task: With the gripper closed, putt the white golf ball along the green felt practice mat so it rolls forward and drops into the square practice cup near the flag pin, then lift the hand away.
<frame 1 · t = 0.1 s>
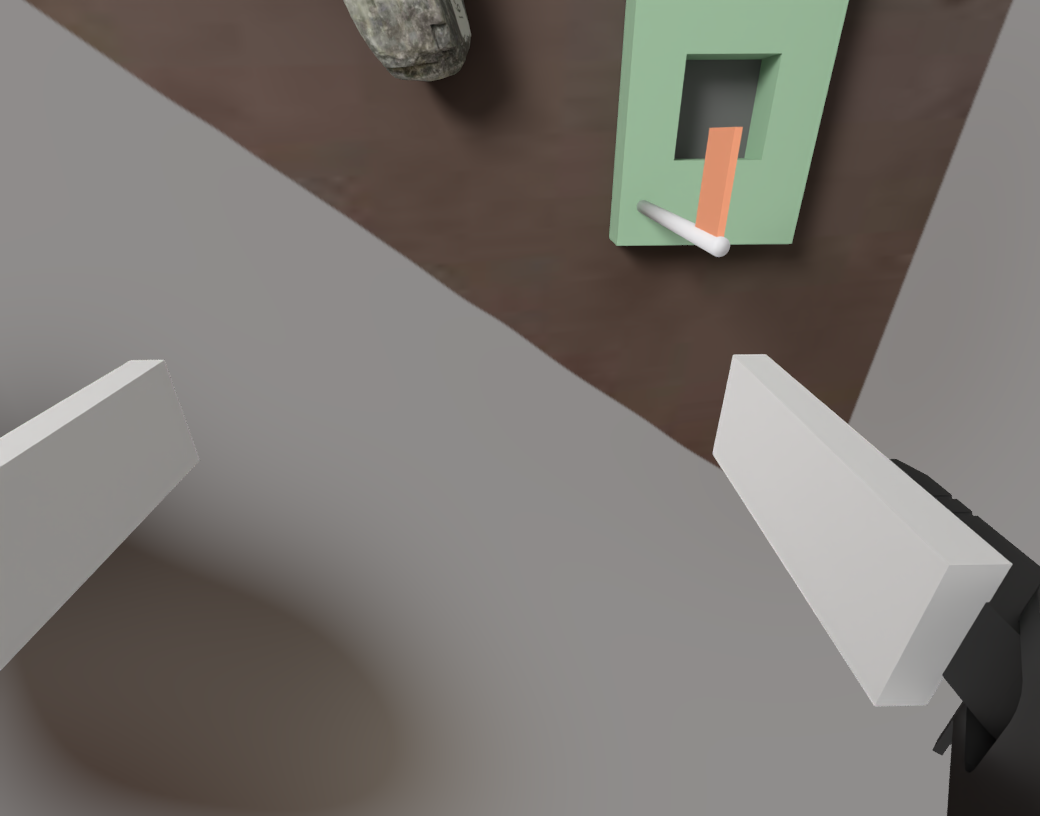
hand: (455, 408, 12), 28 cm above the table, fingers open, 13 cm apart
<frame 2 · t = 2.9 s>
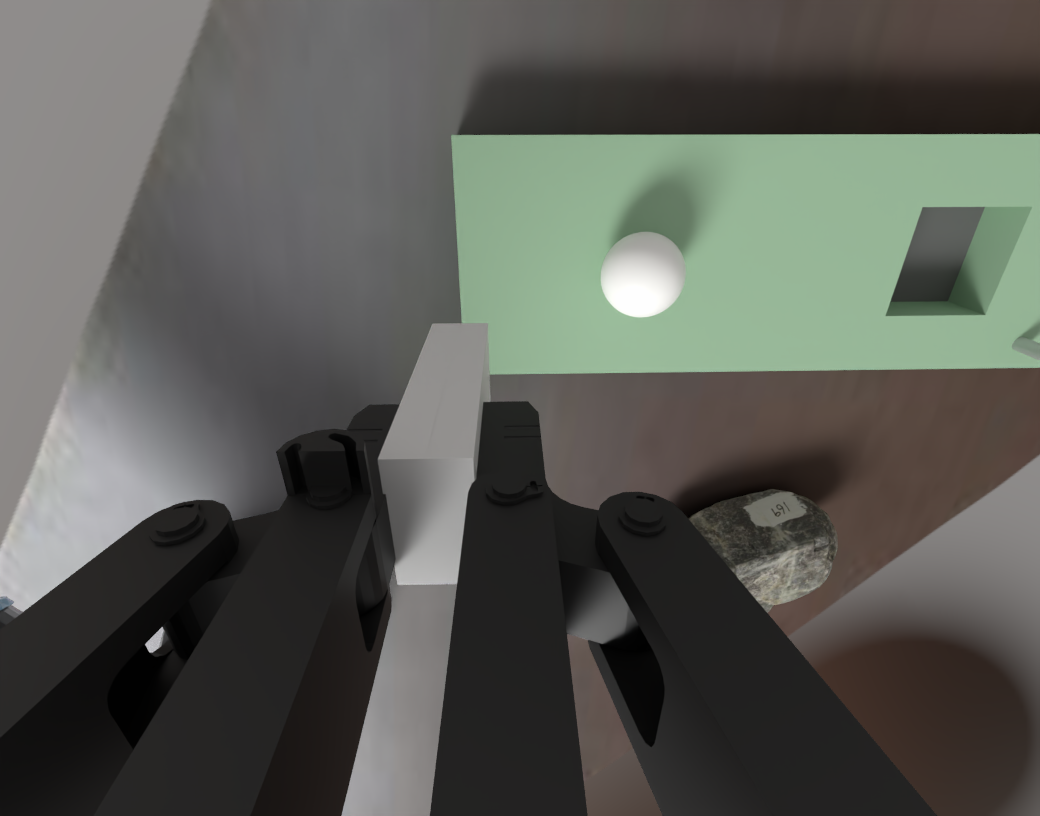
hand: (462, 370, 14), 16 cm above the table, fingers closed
green: (760, 253, 29), on the table
ball: (642, 275, 25), point 5 cm above the table, touching green
stone: (711, 526, 39), on the table
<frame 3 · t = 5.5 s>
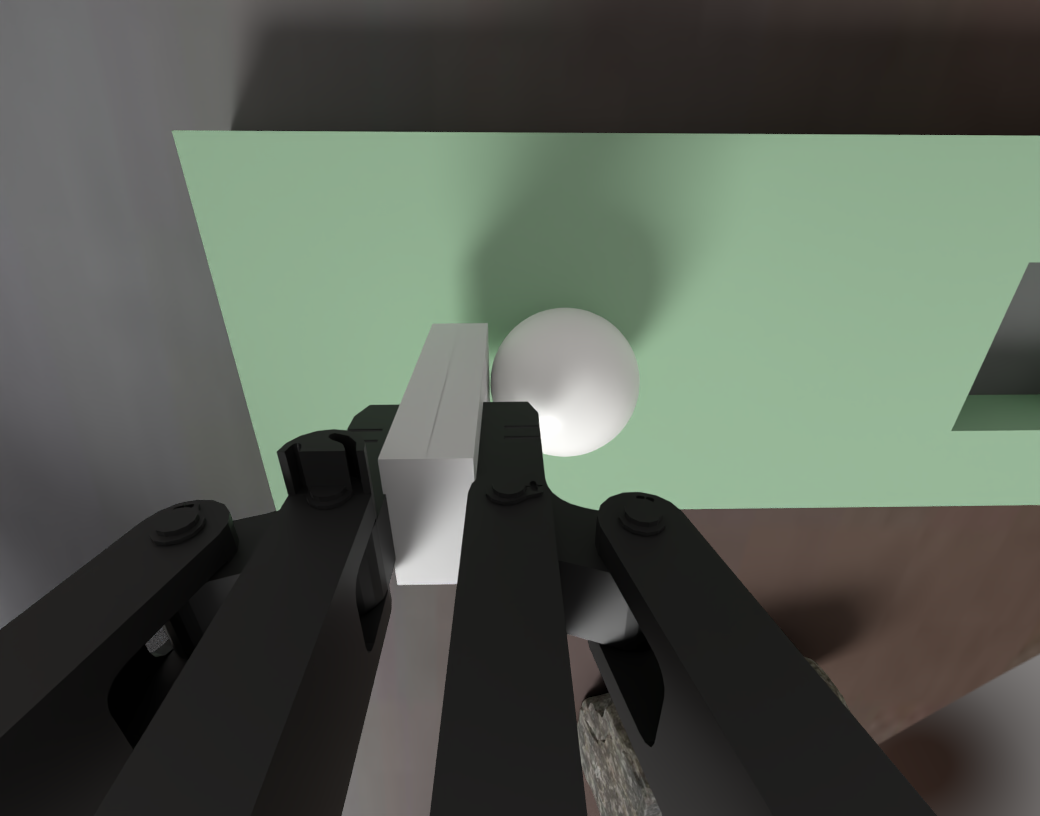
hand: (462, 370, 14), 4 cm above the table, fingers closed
green: (750, 323, 18), on the table
ball: (564, 382, 14), point 5 cm above the table, tilted 19°, touching green
stone: (679, 680, 29), on the table
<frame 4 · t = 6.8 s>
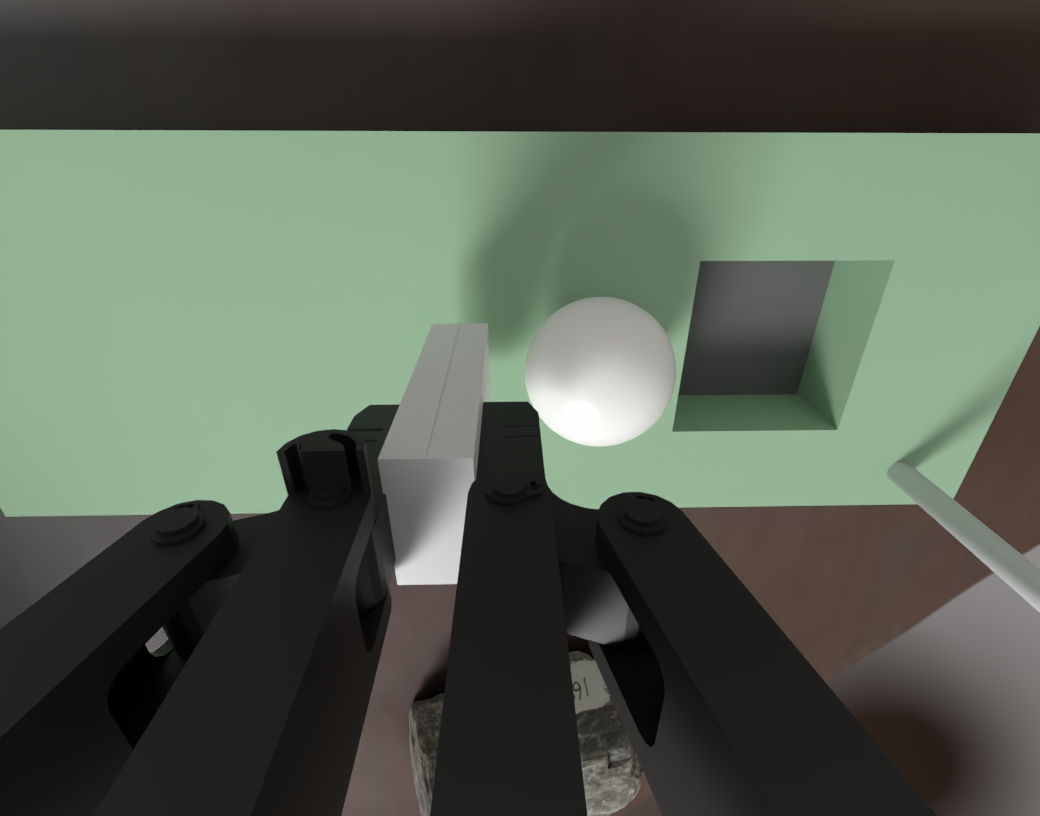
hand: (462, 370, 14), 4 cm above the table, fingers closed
green: (486, 323, 18), on the table
ball: (598, 372, 14), point 5 cm above the table, tilted 42°, touching green
stone: (509, 685, 28), on the table
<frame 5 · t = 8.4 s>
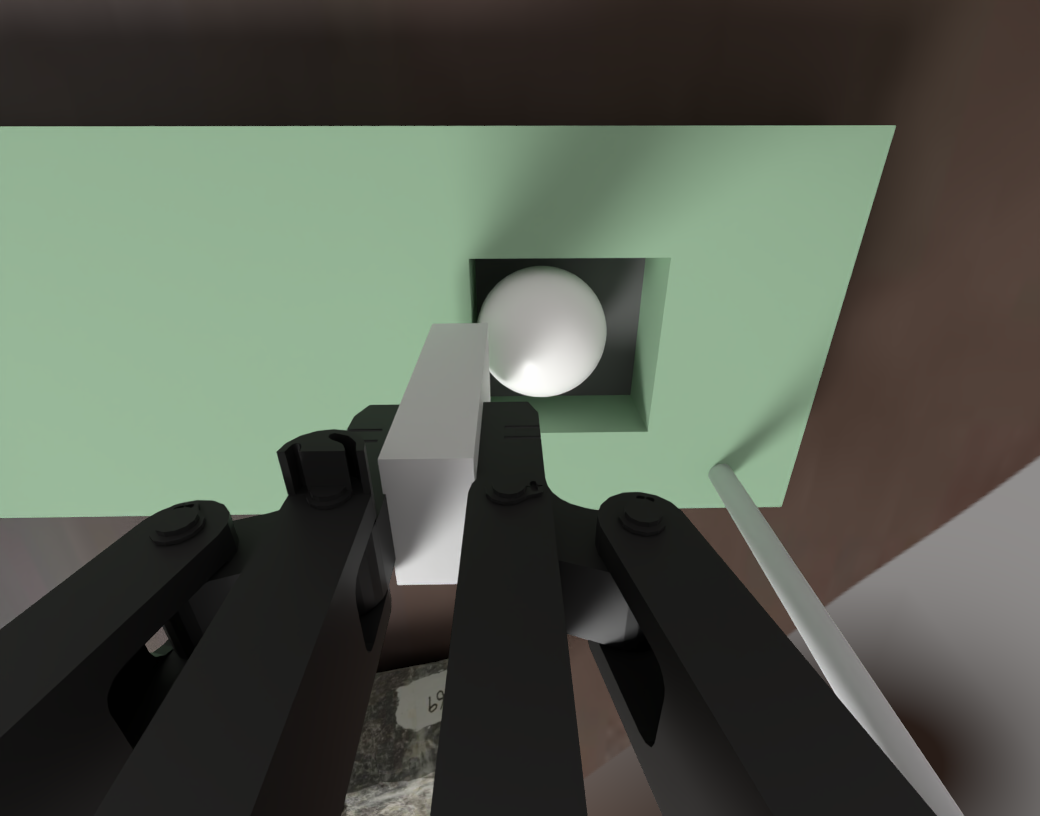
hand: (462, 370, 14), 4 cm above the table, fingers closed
green: (301, 323, 18), on the table
ball: (541, 332, 16), point 2 cm above the table, tilted 132°, touching green
stone: (391, 691, 28), on the table
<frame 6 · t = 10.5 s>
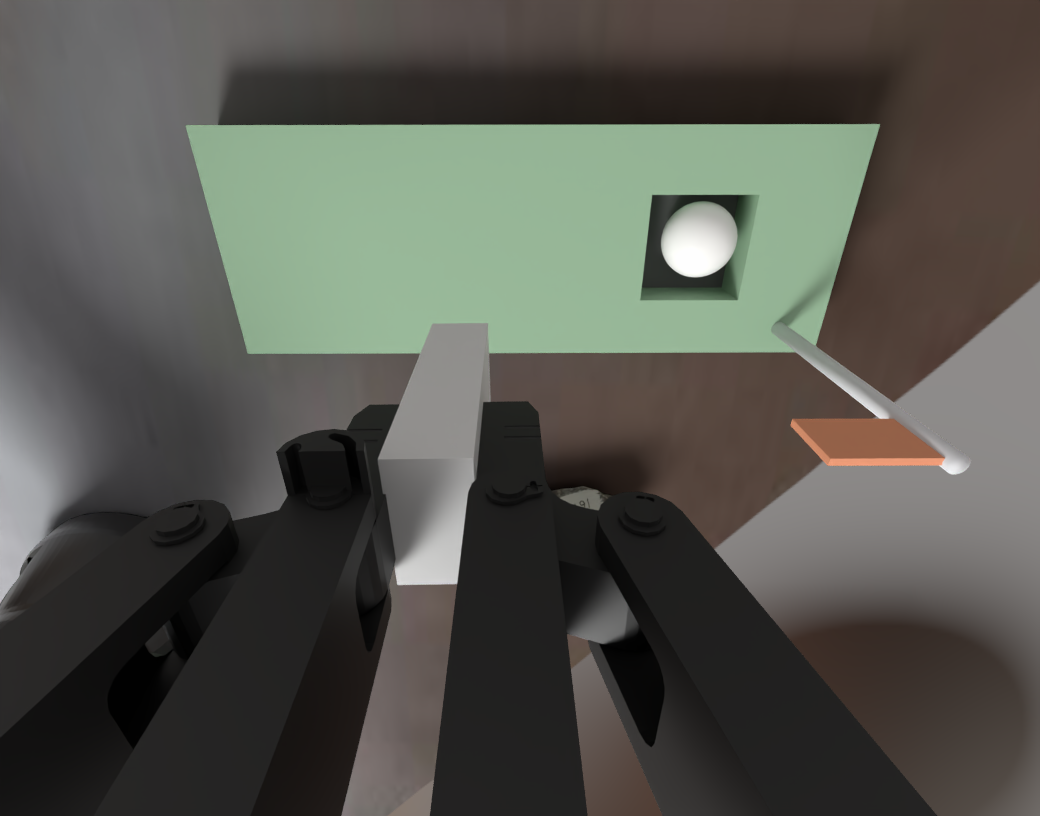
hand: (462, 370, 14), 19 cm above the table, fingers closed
green: (531, 240, 31), on the table
ball: (698, 240, 28), point 2 cm above the table, tilted 158°, touching green
stone: (533, 518, 41), on the table
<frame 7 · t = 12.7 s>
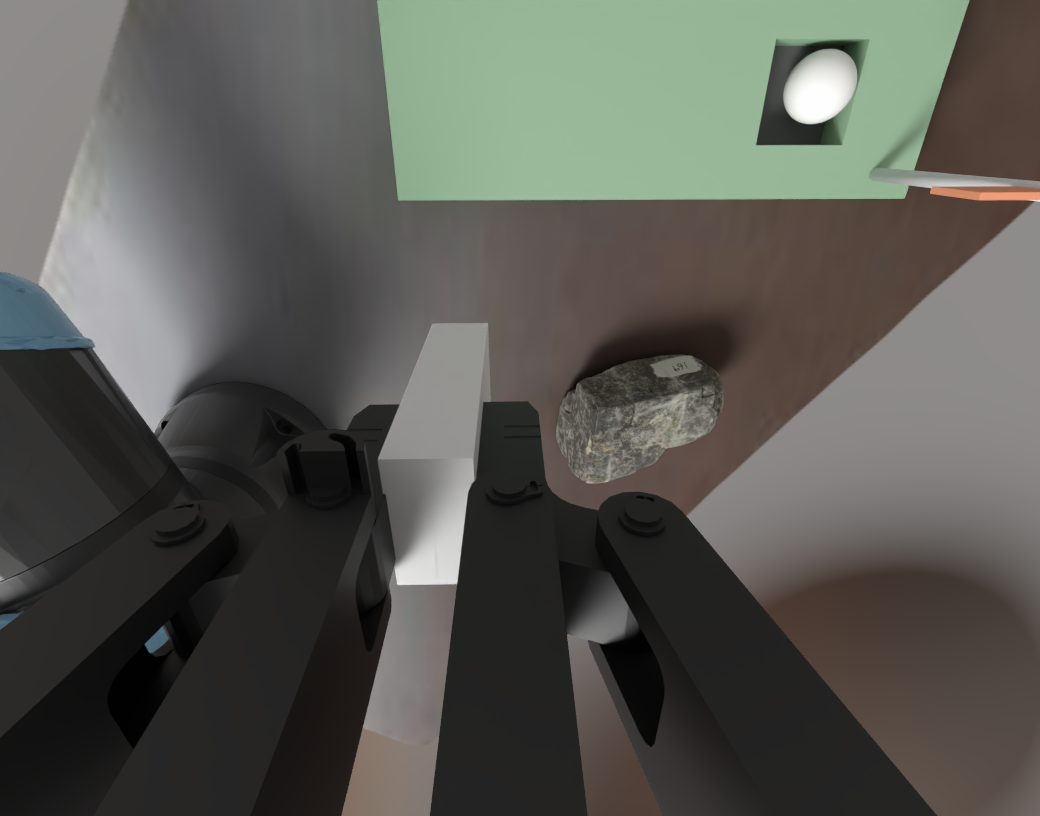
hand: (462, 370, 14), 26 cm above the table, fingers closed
green: (653, 97, 34), on the table
ball: (819, 87, 32), point 2 cm above the table, tilted 175°, touching green
stone: (624, 391, 45), on the table
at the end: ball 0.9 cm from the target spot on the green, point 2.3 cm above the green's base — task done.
